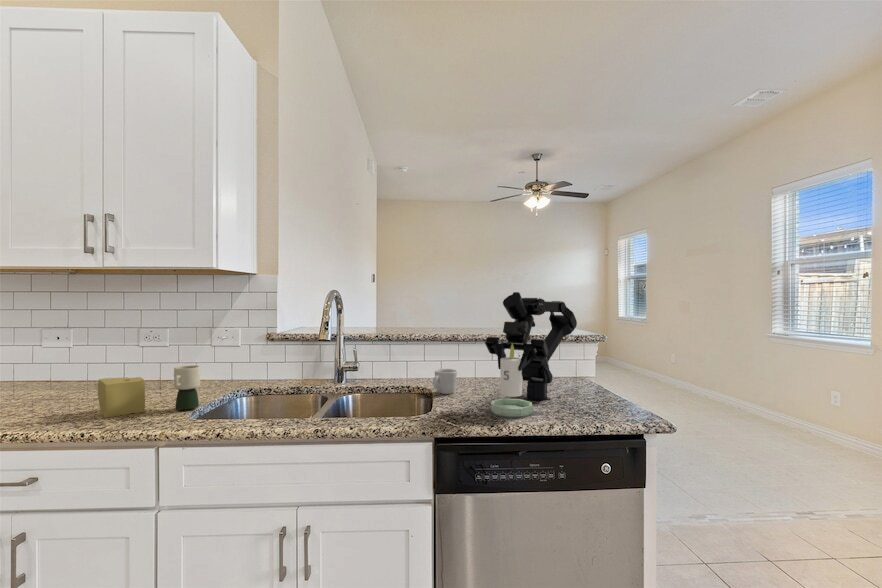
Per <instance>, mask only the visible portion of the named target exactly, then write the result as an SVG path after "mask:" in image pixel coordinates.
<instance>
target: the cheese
mask: <svg viewBox="0 0 882 588" xmlns="http://www.w3.org/2000/svg"><path fill="white" fill-rule="evenodd" d="M97 399H98V404H99V412H100V414H101V416H103V417H104V419H108V417H110V418H115V416H116V417H121V416H120V415H123V416H127V415H126V414H129V415H132V414H131V413H135V414H139V413H138V412H142V413H145V412H144V411H146V410H145V409H146V380H145V379H144V378H143V377H141V376H139V377H138V376H137V377H108V378H100V379H98V382H97Z"/></svg>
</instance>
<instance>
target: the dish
mask: <svg viewBox="0 0 882 588" xmlns="http://www.w3.org/2000/svg"><path fill="white" fill-rule="evenodd" d="M532 402H533V401H530V400H526V399H521V398H500V399H498V398H497V399H493V400H491V403H490V409H491V412H492V413H493V414H495V415H498V416H503V417H525V418H527V417H526V416H529V415H531V414H532V411H533V410H534V409H533V403H532ZM495 415H494V416H495ZM498 416H497V417H498Z"/></svg>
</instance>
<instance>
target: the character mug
mask: <svg viewBox="0 0 882 588" xmlns="http://www.w3.org/2000/svg"><path fill="white" fill-rule="evenodd" d="M173 378H174V379H173V380H174V382H173V387H174V389H176V390H178V391H177V394H176V399H175V407H174V409H175V410H176V411H177V410H183V411H184V410H185V411H186V410H190V409H197V408H199V406H200V404H199V395H198V391H197V388H199V387H201V366H200V365H194V364H193V365H180V366H179V365H178V366H176V367H174V368H173Z"/></svg>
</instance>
